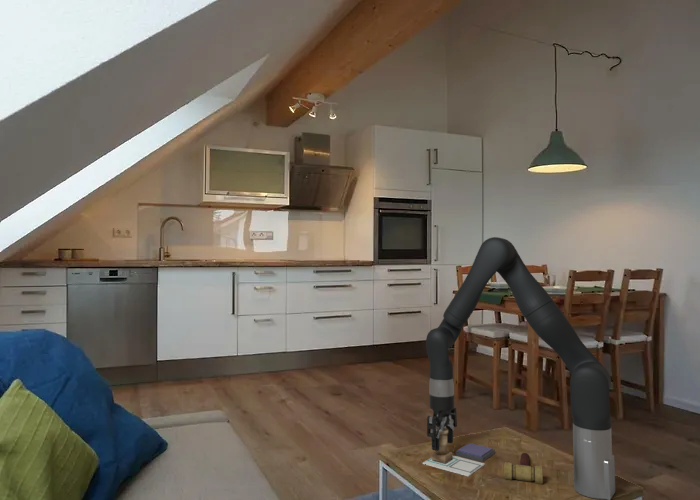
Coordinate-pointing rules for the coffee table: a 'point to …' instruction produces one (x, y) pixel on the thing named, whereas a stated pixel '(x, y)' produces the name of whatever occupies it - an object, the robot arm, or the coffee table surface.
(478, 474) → the coffee table surface
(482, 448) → the ink pad
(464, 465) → the sheet
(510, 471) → the gavel
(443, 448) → the stamp
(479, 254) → the robot arm
